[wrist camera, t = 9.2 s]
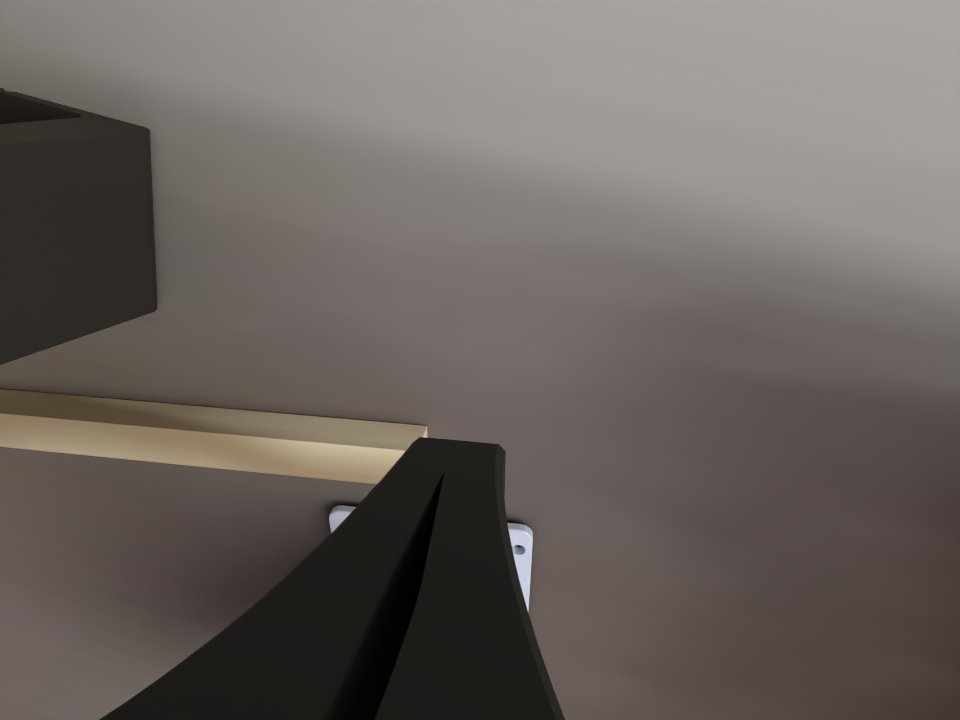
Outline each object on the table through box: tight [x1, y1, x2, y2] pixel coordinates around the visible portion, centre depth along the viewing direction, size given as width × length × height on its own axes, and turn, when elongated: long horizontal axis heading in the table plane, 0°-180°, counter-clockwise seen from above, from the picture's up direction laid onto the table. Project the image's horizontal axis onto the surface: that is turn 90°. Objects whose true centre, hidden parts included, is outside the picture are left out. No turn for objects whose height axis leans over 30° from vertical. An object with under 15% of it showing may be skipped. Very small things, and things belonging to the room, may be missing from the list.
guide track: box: [0, 389, 427, 484], centre depth 18 cm, size 19×22×4 cm
